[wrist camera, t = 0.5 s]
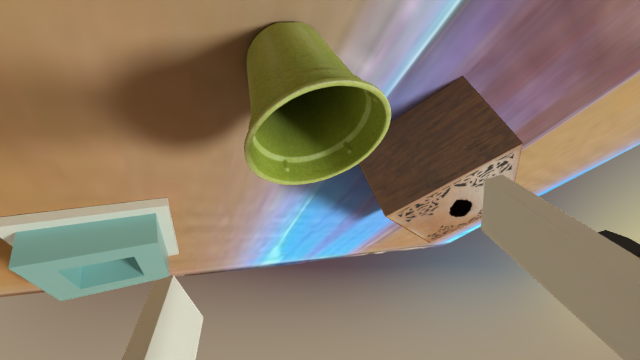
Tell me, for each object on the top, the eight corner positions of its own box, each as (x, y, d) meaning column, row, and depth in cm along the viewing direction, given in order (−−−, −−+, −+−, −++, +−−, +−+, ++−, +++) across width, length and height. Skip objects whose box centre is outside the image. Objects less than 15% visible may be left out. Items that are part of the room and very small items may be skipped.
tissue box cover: (474, 157, 52) (509, 204, 47) (403, 196, 57) (429, 242, 52) (461, 74, 31) (523, 143, 26) (350, 146, 36) (385, 216, 31)
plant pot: (284, 120, 28) (313, 195, 23) (194, 69, 20) (211, 165, 16) (362, 50, 24) (412, 126, 20) (285, -43, 17) (338, 45, 12)
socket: (55, 270, 36) (50, 306, 34) (-10, 218, 26) (-23, 266, 23) (178, 247, 42) (180, 277, 40) (167, 197, 31) (170, 234, 29)
